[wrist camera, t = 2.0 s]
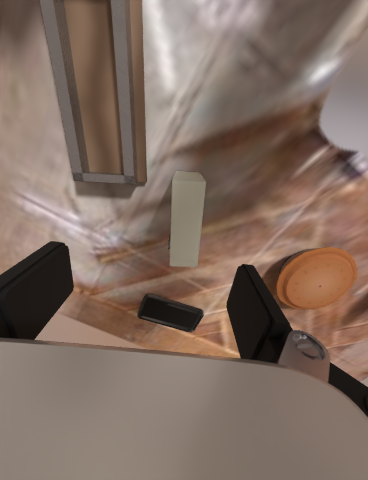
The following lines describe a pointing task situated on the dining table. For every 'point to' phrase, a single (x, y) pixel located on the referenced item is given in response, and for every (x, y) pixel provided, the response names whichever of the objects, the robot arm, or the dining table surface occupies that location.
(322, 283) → the pie
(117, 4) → the grey rectangular tray
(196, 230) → the pale green block
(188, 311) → the phone
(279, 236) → the dining table surface
